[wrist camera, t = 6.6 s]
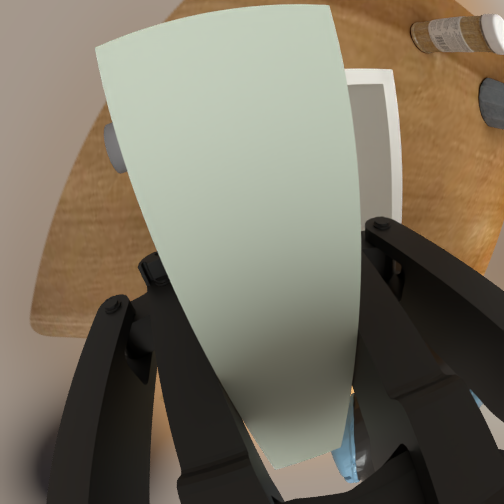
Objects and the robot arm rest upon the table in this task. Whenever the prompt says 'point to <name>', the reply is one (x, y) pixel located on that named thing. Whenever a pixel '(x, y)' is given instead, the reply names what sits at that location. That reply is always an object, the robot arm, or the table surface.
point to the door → (251, 204)
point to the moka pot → (492, 103)
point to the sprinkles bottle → (460, 34)
